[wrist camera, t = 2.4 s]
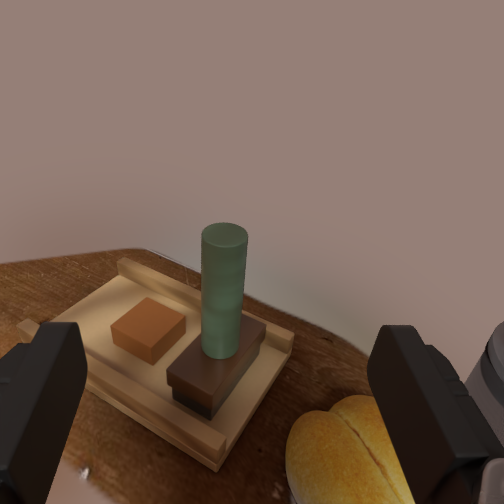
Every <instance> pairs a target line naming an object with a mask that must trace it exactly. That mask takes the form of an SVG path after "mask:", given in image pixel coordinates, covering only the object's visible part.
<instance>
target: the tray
mask: <svg viewBox="0 0 504 504" xmlns="http://www.w3.org/2000/svg"><path fill="white" fill-rule="evenodd" d="M117 268H118V274H119V275H118V276H117V277H115V278H114V279H112V280H111V281H109V282H108V283H106V284H105V285H103V286H102V287H100V288H99V289H97V290H96V291H94V292H93V293H91V294H90V295H88V296H87V297H85V298H84V299H82V300H81V301H79V302H78V303H76V304H75V305H74V306H72V307H71V308H69V309H68V310H66V311H65V312H63V313H62V314H60V315H59V316H57V317H56V318H54V319H53V320H51V321H50V322H77V323H78V325H79V328H80V333H81V337H82V341H83V346H84V350H85V354H86V358H87V364H88V372H87V380H86V384H85V388H86V389H87V390H89V391H90V392H92V393H94V394H95V395H97V396H98V397H100V398H101V399H103V400H104V401H106V402H107V403H109V404H111V405H112V406H114V407H115V408H117V409H118V410H120V411H121V412H123V413H124V414H126V415H128V416H129V417H131V418H132V419H134V420H135V421H137V422H138V423H140V424H141V425H143V426H145V427H146V428H148V429H149V430H151V431H152V432H154V433H155V434H157V435H159V436H160V437H162V438H163V439H165V440H166V441H168V442H169V443H171V444H172V445H174V446H176V447H177V448H179V449H180V450H182V451H183V452H185V453H186V454H188V455H189V456H191V457H193V458H194V459H196V460H197V461H199V462H200V463H202V464H203V465H205V466H206V467H208V468H210V469H211V470H213V471H214V472H216V473H217V472H218V470H219V469H220V467H221V465H222V464H223V462H224V461H225V459H226V457H227V456H228V454H229V453H230V451H231V449H232V448H233V446H234V445H235V443H236V441H237V440H238V438H239V437H240V435H241V434H242V432H243V430H244V429H245V427H246V426H247V424H248V422H249V421H250V419H251V418H252V416H253V414H254V413H255V411H256V410H257V408H258V406H259V405H260V403H261V402H262V400H263V398H264V397H265V395H266V394H267V392H268V390H269V389H270V387H271V386H272V384H273V382H274V381H275V379H276V378H277V376H278V375H279V373H280V371H281V370H282V368H283V367H284V365H285V363H286V362H287V360H288V359H289V357H290V355H291V351H292V346H293V340H294V335H295V333H293V332H291V331H289V330H287V329H284V328H282V327H280V326H278V325H275V324H273V323H271V322H269V321H266V320H264V319H262V318H260V317H257V316H255V315H253V314H251V313H248V312H246V311H244V310H242V313H243V314H245V315H247V316H249V317H251V318H254V319H256V320H258V321H260V322H262V323H265V324H266V325H267V326H266V333H265V339H264V341H263V342H262V343H261V345H260V352H259V355H258V356H257V358H256V359H255V361H254V362H253V363H252V365H251V366H250V367H249V369H248V370H247V372H246V373H245V374H244V376H243V377H242V379H241V380H240V381H239V383H238V384H237V385H236V387H235V388H234V390H233V391H232V392H231V394H230V395H229V397H228V398H227V399H226V401H225V402H224V403H223V405H222V406H221V408H220V409H219V410H218V412H217V413H216V415H215V416H214V417H213V419H212V420H211V421H209V420H208V419H206V418H204V417H202V416H201V415H199V414H197V413H196V412H194V411H192V410H191V409H189V408H187V407H186V406H184V405H182V404H181V403H179V402H177V401H175V400H174V399H173V398H172V387H170V386H168V385H167V378H166V369H167V368H168V367H169V366H170V365H171V363H172V362H173V361H174V360H175V359H176V358H177V357H178V356H179V355H180V354H181V353H182V352H183V351H184V350H185V349H186V348H187V347H188V346H189V345H190V344H191V343H192V341H193V340H194V339H195V338H196V337H197V336H198V335H199V334H200V333H201V291H199V290H197V289H195V288H193V287H190V286H188V285H186V284H184V283H181V282H179V281H177V280H175V279H172V278H170V277H168V276H166V275H163V274H161V273H159V272H157V271H155V270H152V269H150V268H148V267H146V266H143V265H141V264H139V263H137V262H134V261H132V260H130V259H128V258H125V257H123V258H121V259H120V260H118V261H117ZM146 297H148V298H150V299H152V300H154V301H156V302H158V303H160V304H162V305H165V306H167V307H169V308H171V309H173V310H175V311H177V312H179V313H181V314H183V315H185V322H186V333H185V334H184V335H183V336H182V337H181V338H180V339H179V340H178V341H177V342H176V343H175V344H174V345H173V346H172V347H171V348H170V349H169V350H168V351H167V352H166V353H165V354H164V355H163V356H162V357H161V358H160V359H159V360H158V361H157V362H156V363H155V364H154V365H153V366H152V365H150V364H148V363H146V362H145V361H143V360H141V359H139V358H138V357H136V356H134V355H132V354H131V353H129V352H127V351H125V350H123V349H122V348H120V347H118V346H116V345H115V344H113V339H112V333H111V328H110V325H112V324H113V323H114V322H115V321H117V320H118V319H119V318H120V317H122V316H123V315H124V314H126V313H127V312H128V311H129V310H131V309H132V308H133V307H134V306H136V305H137V304H138V303H139V302H141V301H142V300H143V299H145V298H146ZM16 327H17V330H18V333H19V335H20V338H21V340H22V343H31V341H32V339H33V338H34V336H35V334H36V332H37V330H38V328H39V327H40V325H39V324H37V323H35V322H34V321H32V320H30V319H29V318H27V319H25V320H24V321H22V322H21V323H19V324H17V325H16Z"/></svg>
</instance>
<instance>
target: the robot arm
mask: <svg viewBox="0 0 504 504" xmlns="http://www.w3.org/2000/svg"><path fill="white" fill-rule="evenodd" d="M87 372H88V364H87V358H86V354H85V350H84V346H83V341H82V337H81V333H80V328H79V325H78V323H77V322H43V323H42V324H41V325H40V327H39V328H38V330H37V332H36V334H35V336H34V338H33V339H32V341H31V343H18V344H17V345H16V346H15V347H13V348H12V349H11V350H10V351H9V352H8V353H7V354H6V355H4V356H3V357H2V358H1V359H0V504H45V503H46V500H47V497H48V494H49V491H50V488H51V485H52V482H53V479H54V476H55V474H56V471H57V468H58V465H59V462H60V459H61V456H62V453H63V450H64V447H65V444H66V441H67V438H68V435H69V432H70V429H71V426H72V423H73V420H74V417H75V414H76V411H77V408H78V406H79V403H80V400H81V397H82V394H83V391H84V388H85V384H86V380H87ZM367 376H368V381H369V385H370V388H371V390H372V393H373V395H374V398H375V401H376V403H377V406H378V408H379V411H380V414H381V416H382V419H383V421H384V424H385V427H386V429H387V432H388V434H389V437H390V440H391V442H392V445H393V447H394V450H395V453H396V455H397V458H398V460H399V463H400V466H401V468H402V471H403V473H404V476H405V479H406V481H407V484H408V486H409V489H410V492H411V494H412V497H413V500H414V502H415V504H504V448H503V446H502V445H501V443H500V441H499V440H498V438H497V437H496V435H495V433H494V432H493V430H492V429H491V427H490V425H489V424H488V422H487V421H486V419H485V417H484V416H483V414H482V413H481V411H480V409H479V408H478V406H477V405H476V403H475V401H474V400H473V398H472V397H471V396H469V394H468V393H469V392H468V390H467V389H466V387H465V385H464V384H463V383H462V381H460V380H459V376H458V374H457V373H456V371H455V369H454V368H453V366H452V365H451V363H450V361H449V360H448V359H447V358H446V357H445V356H443V354H441V353H440V352H439V351H438V350H437V349H436V348H435V347H434V346H432V345H425V344H424V342H423V341H422V339H421V337H420V336H419V334H418V332H417V330H416V329H415V328H414V327H413V326H411V325H383V326H382V327H381V328H380V331H379V333H378V336H377V339H376V341H375V344H374V347H373V350H372V352H371V355H370V358H369V360H368V365H367Z"/></svg>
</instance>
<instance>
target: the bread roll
mask: <svg viewBox="0 0 504 504" xmlns="http://www.w3.org/2000/svg"><path fill="white" fill-rule="evenodd" d="M285 459H286V474H287V479H288V484H289V487H290V489H291V492H292V494H293V496H294V498H295V500H296V502H297V504H415V502H414V500H413V497H412V494H411V492H410V489H409V486H408V484H407V481H406V479H405V476H404V473H403V471H402V468H401V466H400V463H399V460H398V458H397V455H396V453H395V450H394V447H393V445H392V442H391V440H390V437H389V434H388V432H387V429H386V427H385V424H384V421H383V419H382V416H381V414H380V411H379V408H378V406H377V403H376V401H375V398H374V397H372V396H366V395H352V396H348V397H346V398H344V399H342V400H341V401H339V402H337V403H336V404H334V405H333V407H332V408H331V409H330V410H329V412H325V411H316V410H314V411H310V412H307V413H305V414H303V415H302V416H300V417H299V418H298V419H297V420H296V421H295V423H294V424H293V426H292V428H291V431H290V433H289V436H288V440H287V444H286V454H285Z"/></svg>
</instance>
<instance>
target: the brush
mask: <svg viewBox="0 0 504 504" xmlns="http://www.w3.org/2000/svg"><path fill="white" fill-rule="evenodd" d="M201 242H202V243H201V248H202V251H201V252H202V253H201V264H202V265H201V269H202V270H201V333H200V334H199V335H198V336H197V337H196V338H195V339H194V340H193V341H192V343H191V344H190V345H189V346H188V347H187V348H186V349H185V350H184V351H183V352H182V353H181V354H180V355H179V356H178V357H177V358H176V359H175V360H174V361H173V362H172V363H171V365H170V366H169V367H168V368H167V369H166V378H167V385H168V386H170V387H172V398H173V399H174V400H175V401H177V402H179V403H181V404H182V405H184V406H186V407H187V408H189V409H191V410H192V411H194V412H196V413H197V414H199V415H201V416H202V417H204V418H206V419H208V420H209V421H211V420H212V419H213V417H214V416H215V415H216V413H217V412H218V410H219V409H220V408H221V406H222V405H223V403H224V402H225V401H226V399H227V398H228V397H229V395H230V394H231V392H232V391H233V390H234V388H235V387H236V385H237V384H238V383H239V381H240V380H241V379H242V377H243V376H244V374H245V373H246V372H247V370H248V369H249V367H250V366H251V365H252V363H253V362H254V361H255V359H256V358H257V356H258V355H259V352H260V345H261V343H262V342H263V341H264V339H265V333H266V326H267V325H266V324H265V323H262V322H260V321H258V320H256V319H254V318H251V317H249V316H247V315H245V314H243V313H242V304H243V292H244V279H245V268H246V256H247V244H248V234H247V232H246V230H245V229H244V228H242V227H240V226H238V225H235V224H232V223H215V224H211V225H209V226H207V227H206V228H205V229H204V230H203V232H202V241H201Z"/></svg>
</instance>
